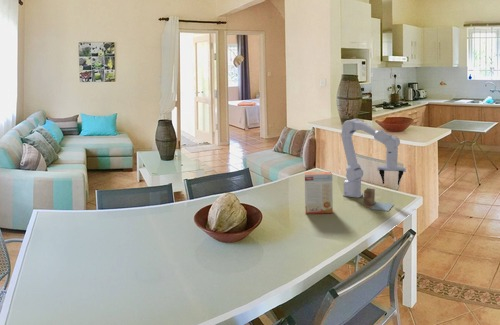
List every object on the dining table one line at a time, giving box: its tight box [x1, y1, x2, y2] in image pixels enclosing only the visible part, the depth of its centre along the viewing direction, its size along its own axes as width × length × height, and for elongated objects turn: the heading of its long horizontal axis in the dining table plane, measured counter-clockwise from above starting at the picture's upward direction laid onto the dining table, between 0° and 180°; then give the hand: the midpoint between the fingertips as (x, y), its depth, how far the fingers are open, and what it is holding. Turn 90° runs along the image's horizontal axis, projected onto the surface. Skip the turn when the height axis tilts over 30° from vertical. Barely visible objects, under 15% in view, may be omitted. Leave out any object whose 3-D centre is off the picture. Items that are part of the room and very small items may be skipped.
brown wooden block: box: [363, 187, 376, 208], centre depth 232 cm, size 4×6×8 cm, turn 149°
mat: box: [370, 201, 395, 212], centre depth 230 cm, size 9×12×1 cm
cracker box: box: [304, 171, 334, 214], centre depth 224 cm, size 14×6×21 cm, turn 84°
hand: (390, 183), depth 235 cm, fingers open, 7 cm apart
